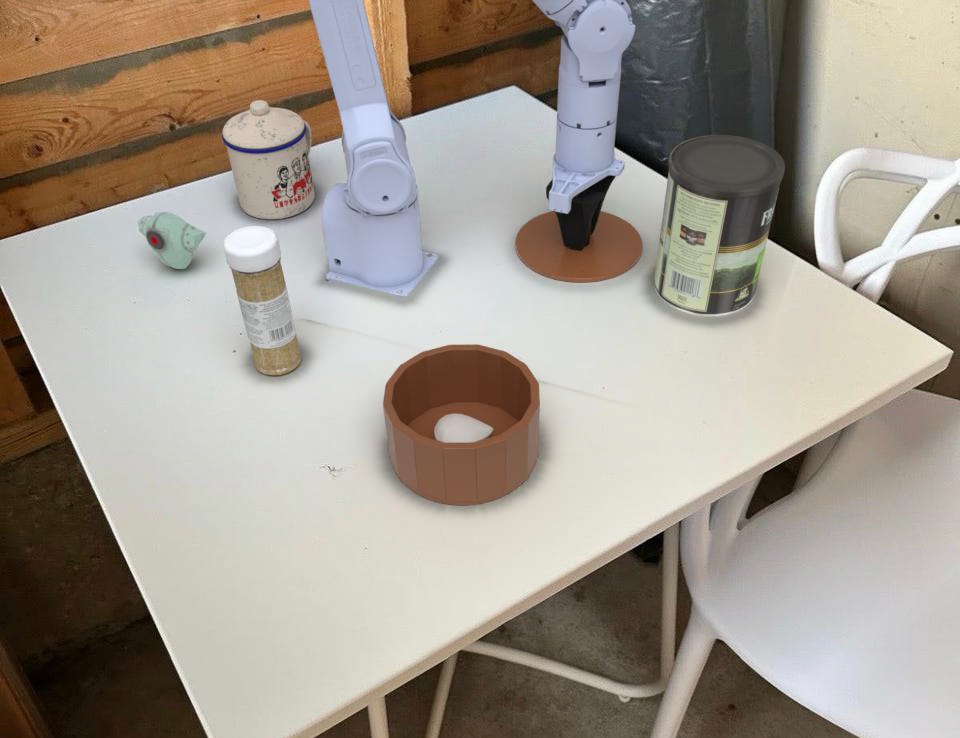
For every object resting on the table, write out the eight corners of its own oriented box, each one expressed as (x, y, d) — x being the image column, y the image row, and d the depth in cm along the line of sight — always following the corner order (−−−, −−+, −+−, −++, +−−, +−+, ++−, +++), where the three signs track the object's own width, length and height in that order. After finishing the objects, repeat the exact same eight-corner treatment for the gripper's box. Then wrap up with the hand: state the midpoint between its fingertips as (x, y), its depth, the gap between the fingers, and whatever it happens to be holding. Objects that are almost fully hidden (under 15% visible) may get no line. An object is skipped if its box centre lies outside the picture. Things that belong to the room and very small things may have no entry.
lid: (496, 270, 97) (495, 234, 94) (541, 207, 105) (542, 172, 102) (619, 299, 93) (623, 263, 90) (656, 231, 101) (661, 195, 98)
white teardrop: (431, 431, 79) (429, 410, 78) (488, 422, 80) (487, 401, 78) (440, 467, 77) (438, 445, 75) (499, 457, 77) (498, 435, 75)
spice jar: (293, 341, 89) (268, 218, 79) (309, 368, 86) (284, 244, 77) (247, 355, 88) (215, 231, 78) (261, 383, 85) (230, 259, 75)
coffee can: (754, 265, 96) (784, 137, 86) (754, 326, 89) (787, 194, 79) (655, 256, 98) (672, 129, 88) (647, 314, 91) (665, 184, 81)
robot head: (221, 268, 98) (206, 211, 93) (197, 289, 95) (180, 232, 91) (160, 251, 100) (142, 195, 96) (135, 271, 98) (116, 215, 93)
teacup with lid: (286, 229, 103) (266, 130, 94) (221, 210, 106) (197, 112, 98) (346, 180, 110) (333, 83, 102) (284, 163, 113) (266, 68, 105)
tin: (365, 479, 76) (355, 422, 72) (430, 387, 84) (425, 330, 80) (503, 523, 73) (503, 466, 68) (558, 422, 81) (561, 365, 76)
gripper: (603, 158, 82) (592, 284, 92) (649, 90, 91) (635, 212, 101) (529, 144, 84) (526, 269, 94) (581, 79, 94) (574, 200, 103)
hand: (578, 239), depth 98 cm, fingers closed on lid, 2 cm apart
